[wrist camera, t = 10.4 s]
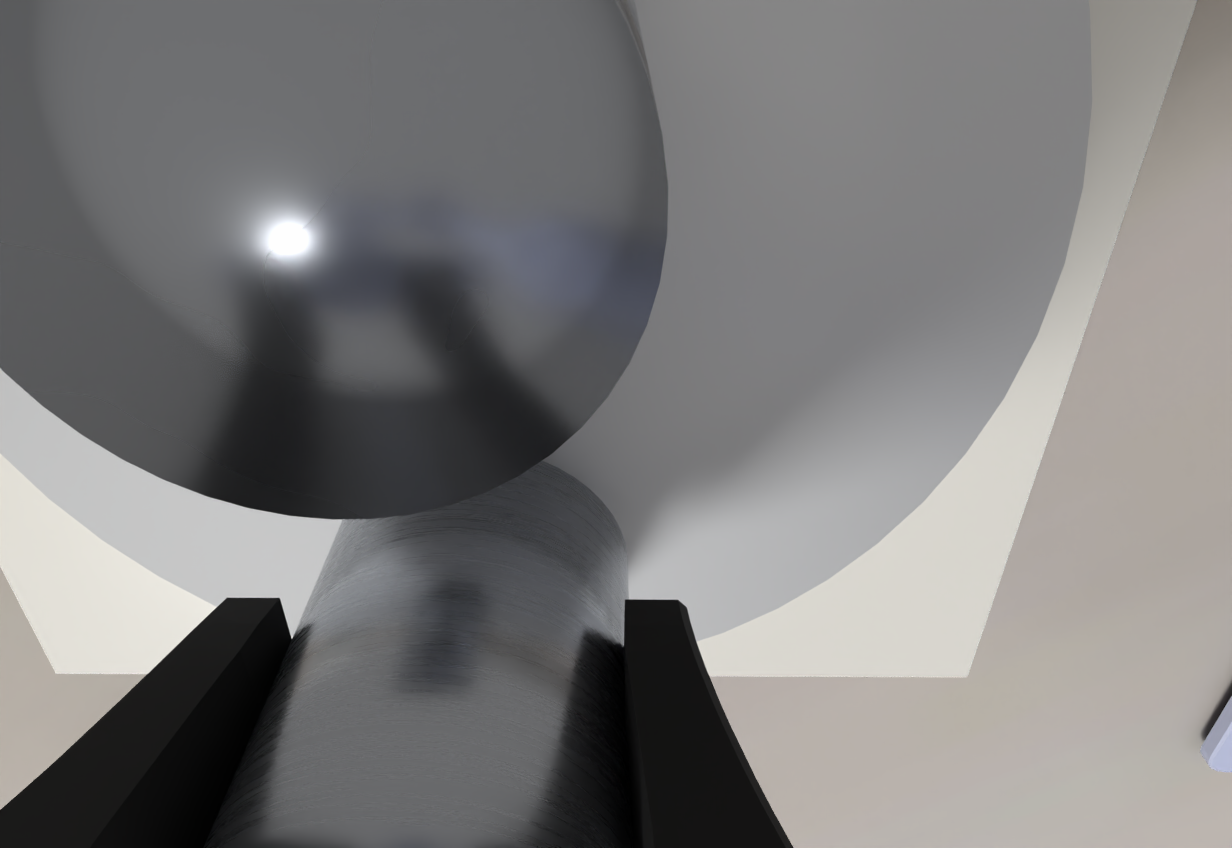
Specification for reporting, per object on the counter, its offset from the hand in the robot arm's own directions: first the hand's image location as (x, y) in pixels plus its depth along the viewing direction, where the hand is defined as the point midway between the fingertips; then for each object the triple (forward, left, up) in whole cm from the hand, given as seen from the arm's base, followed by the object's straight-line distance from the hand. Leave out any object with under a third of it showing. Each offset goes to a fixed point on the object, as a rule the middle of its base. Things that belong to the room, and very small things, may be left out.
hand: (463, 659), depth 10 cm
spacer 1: (0, -6, -2) cm, 7 cm away
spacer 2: (0, 0, -2) cm, 2 cm away
